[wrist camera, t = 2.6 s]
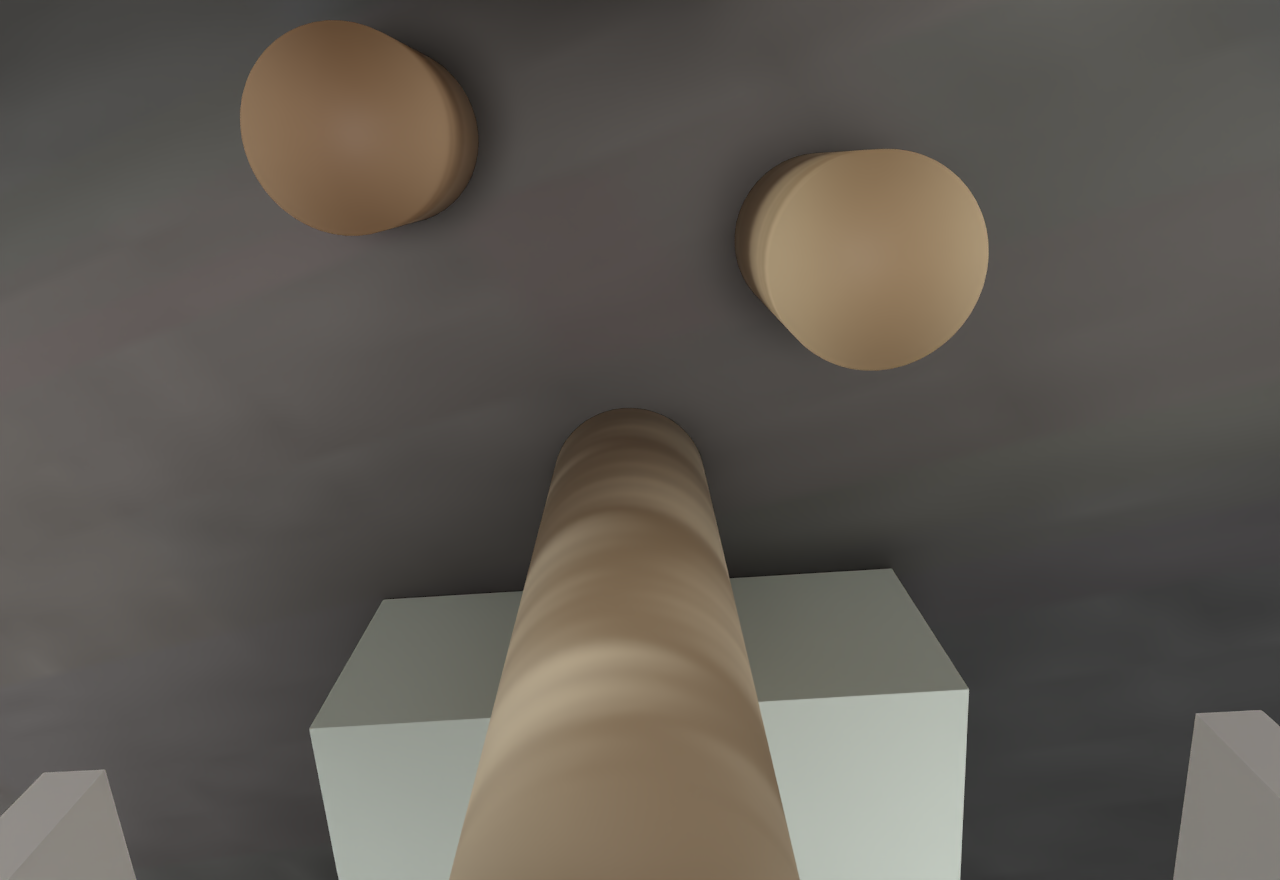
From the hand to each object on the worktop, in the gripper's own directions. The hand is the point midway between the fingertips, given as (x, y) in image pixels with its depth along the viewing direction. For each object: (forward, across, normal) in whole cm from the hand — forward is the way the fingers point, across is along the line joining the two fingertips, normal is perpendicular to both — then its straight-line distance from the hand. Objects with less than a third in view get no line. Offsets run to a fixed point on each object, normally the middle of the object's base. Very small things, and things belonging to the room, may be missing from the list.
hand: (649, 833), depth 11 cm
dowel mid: (+14, +4, +6) cm, 16 cm away
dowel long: (+14, 0, 0) cm, 14 cm away
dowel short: (+14, -6, +9) cm, 17 cm away
